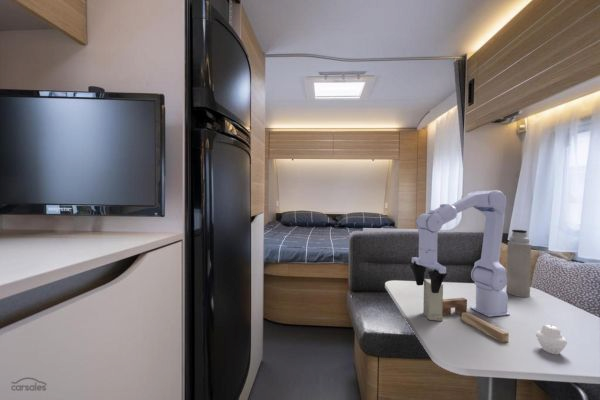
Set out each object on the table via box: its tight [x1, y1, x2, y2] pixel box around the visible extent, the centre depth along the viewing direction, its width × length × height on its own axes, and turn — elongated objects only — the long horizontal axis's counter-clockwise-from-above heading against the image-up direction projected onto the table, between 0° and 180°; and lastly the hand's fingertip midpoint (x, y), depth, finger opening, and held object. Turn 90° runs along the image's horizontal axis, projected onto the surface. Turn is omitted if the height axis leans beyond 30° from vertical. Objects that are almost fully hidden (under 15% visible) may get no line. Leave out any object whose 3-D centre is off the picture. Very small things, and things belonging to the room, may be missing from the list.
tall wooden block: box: [442, 297, 468, 317], centre depth 94 cm, size 10×2×5 cm, turn 103°
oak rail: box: [461, 311, 510, 343], centre depth 82 cm, size 2×14×2 cm, turn 13°
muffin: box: [535, 324, 568, 355], centre depth 71 cm, size 6×6×7 cm
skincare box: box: [422, 278, 444, 322], centre depth 91 cm, size 6×4×12 cm
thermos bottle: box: [505, 229, 532, 298], centre depth 116 cm, size 8×8×28 cm
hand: (427, 288), depth 90 cm, fingers open, 7 cm apart
